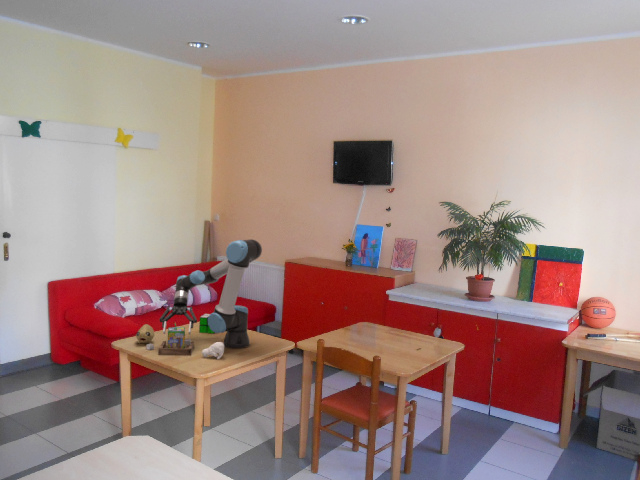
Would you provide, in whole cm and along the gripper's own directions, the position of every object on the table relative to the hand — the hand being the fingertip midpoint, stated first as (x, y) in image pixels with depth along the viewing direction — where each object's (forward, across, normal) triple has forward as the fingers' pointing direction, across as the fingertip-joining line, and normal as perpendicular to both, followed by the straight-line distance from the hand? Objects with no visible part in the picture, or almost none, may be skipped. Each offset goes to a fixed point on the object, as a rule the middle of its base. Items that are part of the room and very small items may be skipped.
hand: (176, 333), depth 290 cm
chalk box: (+6, 0, -7) cm, 10 cm away
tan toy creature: (-3, +20, -18) cm, 26 cm away
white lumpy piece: (+15, -20, 0) cm, 25 cm away
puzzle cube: (-23, -15, -38) cm, 47 cm away
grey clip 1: (+5, +14, -10) cm, 18 cm away
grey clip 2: (-3, -5, -17) cm, 18 cm away
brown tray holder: (+7, 0, -8) cm, 10 cm away
